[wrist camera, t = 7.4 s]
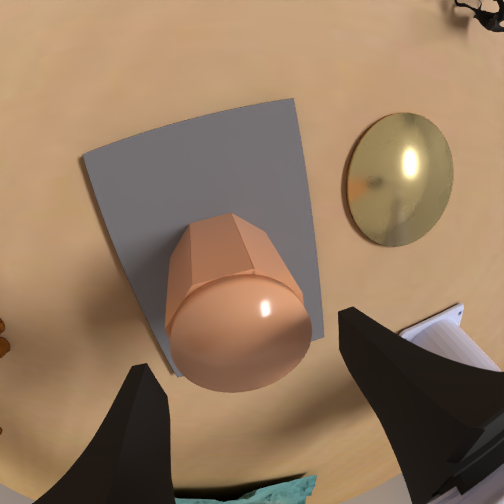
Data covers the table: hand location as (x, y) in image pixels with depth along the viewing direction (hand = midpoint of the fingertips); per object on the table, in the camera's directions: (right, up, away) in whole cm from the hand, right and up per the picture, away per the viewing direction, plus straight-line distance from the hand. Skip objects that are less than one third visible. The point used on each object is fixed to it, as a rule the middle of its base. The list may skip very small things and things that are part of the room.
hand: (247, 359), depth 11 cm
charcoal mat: (-2, +3, +7) cm, 8 cm away
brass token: (+10, +8, +7) cm, 15 cm away
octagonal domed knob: (-2, +3, +7) cm, 8 cm away
